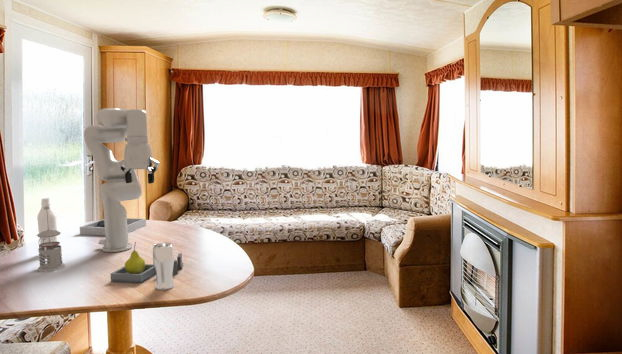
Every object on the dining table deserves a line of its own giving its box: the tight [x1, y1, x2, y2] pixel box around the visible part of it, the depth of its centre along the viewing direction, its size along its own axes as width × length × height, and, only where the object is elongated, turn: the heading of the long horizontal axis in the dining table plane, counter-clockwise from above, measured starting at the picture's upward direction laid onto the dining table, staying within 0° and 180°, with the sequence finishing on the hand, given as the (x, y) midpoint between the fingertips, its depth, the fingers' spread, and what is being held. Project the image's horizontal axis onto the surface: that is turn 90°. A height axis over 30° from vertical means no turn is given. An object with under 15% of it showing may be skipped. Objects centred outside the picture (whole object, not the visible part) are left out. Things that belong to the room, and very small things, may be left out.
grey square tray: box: [110, 263, 156, 284], centre depth 156 cm, size 12×12×3 cm
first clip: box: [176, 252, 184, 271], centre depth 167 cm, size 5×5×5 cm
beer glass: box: [152, 242, 175, 291], centre depth 145 cm, size 7×7×15 cm
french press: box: [36, 206, 66, 272], centre depth 167 cm, size 10×12×25 cm
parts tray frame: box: [79, 217, 147, 236], centre depth 233 cm, size 24×24×4 cm
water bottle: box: [36, 198, 58, 250], centre depth 185 cm, size 7×7×25 cm
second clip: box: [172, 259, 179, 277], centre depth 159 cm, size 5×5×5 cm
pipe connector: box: [97, 219, 105, 227], centre depth 231 cm, size 12×5×15 cm
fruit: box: [124, 242, 146, 274], centre depth 156 cm, size 7×7×12 cm
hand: (139, 183), depth 170 cm, fingers open, 9 cm apart
